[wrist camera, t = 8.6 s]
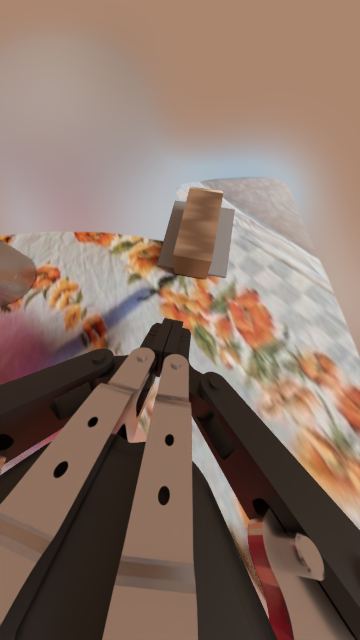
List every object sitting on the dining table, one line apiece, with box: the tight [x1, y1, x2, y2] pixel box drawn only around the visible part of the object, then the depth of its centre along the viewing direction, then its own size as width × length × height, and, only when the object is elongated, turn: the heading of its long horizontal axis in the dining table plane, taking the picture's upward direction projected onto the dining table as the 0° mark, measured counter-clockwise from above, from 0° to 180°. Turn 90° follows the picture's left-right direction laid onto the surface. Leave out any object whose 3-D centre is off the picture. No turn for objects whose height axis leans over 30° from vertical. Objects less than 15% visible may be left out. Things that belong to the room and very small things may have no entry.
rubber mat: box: [157, 201, 235, 278], centre depth 23 cm, size 11×14×1 cm
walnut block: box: [173, 187, 223, 279], centre depth 20 cm, size 5×4×12 cm
